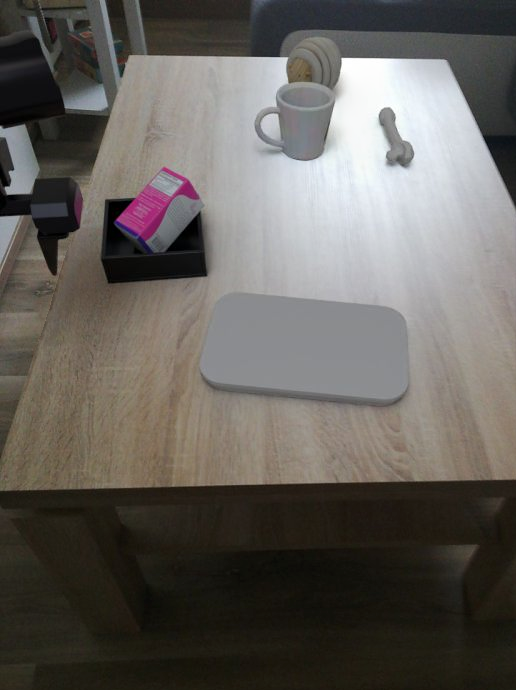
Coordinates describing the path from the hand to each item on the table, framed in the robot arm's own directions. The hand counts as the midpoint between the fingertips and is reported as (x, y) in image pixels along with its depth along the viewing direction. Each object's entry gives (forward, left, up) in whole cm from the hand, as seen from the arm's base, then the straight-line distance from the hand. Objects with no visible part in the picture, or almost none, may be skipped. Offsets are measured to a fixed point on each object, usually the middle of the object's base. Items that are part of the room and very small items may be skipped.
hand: (11, 276), depth 62 cm
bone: (+59, +47, -13) cm, 77 cm away
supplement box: (+11, +17, -10) cm, 23 cm away
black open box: (+14, +20, -13) cm, 28 cm away
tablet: (+33, -4, -13) cm, 36 cm away
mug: (+39, +46, -13) cm, 62 cm away
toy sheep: (+47, +67, -13) cm, 83 cm away
